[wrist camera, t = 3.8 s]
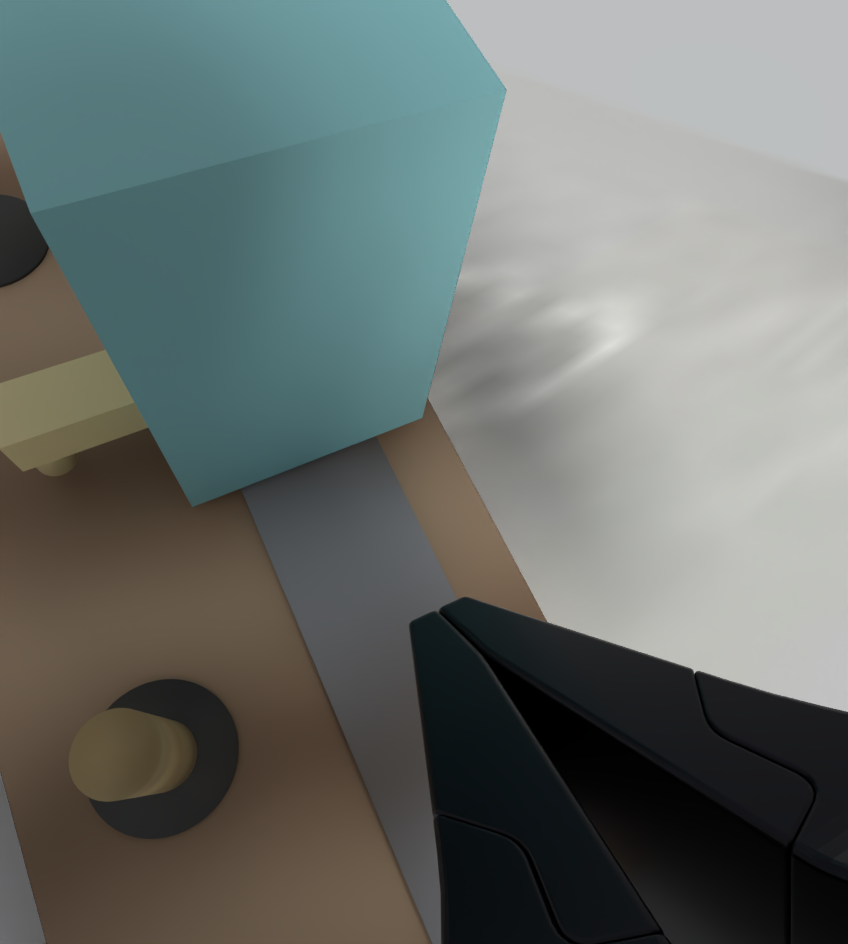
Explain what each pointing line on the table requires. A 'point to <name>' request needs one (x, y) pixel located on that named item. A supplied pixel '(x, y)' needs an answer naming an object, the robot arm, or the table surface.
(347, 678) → the board
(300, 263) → the block
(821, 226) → the table surface
